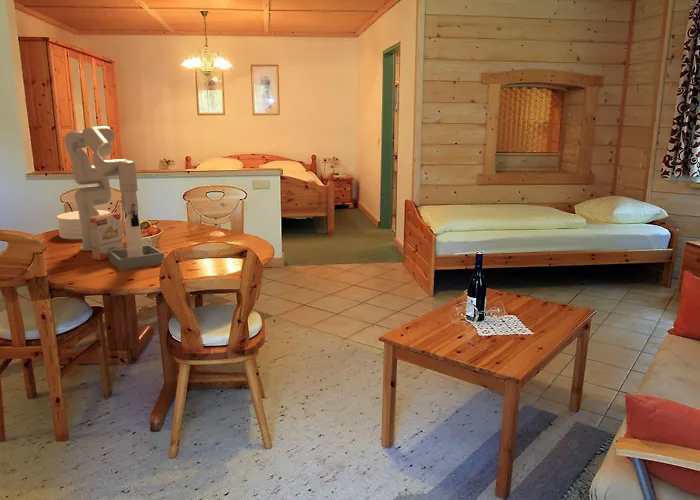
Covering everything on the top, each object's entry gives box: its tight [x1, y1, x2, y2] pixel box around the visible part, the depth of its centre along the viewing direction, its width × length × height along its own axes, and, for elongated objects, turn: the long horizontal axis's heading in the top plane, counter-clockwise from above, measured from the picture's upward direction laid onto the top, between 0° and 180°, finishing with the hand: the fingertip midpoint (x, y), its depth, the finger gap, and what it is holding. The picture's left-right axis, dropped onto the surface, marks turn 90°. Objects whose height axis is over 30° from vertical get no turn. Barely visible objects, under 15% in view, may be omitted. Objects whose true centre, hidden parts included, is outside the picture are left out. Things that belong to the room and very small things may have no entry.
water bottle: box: [123, 213, 143, 258], centre depth 268 cm, size 7×7×25 cm
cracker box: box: [89, 212, 124, 261], centre depth 278 cm, size 14×6×21 cm, turn 153°
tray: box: [108, 244, 165, 271], centre depth 270 cm, size 20×20×5 cm
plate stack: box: [56, 209, 111, 240], centre depth 330 cm, size 28×28×12 cm
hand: (132, 224), depth 267 cm, fingers open, 9 cm apart
